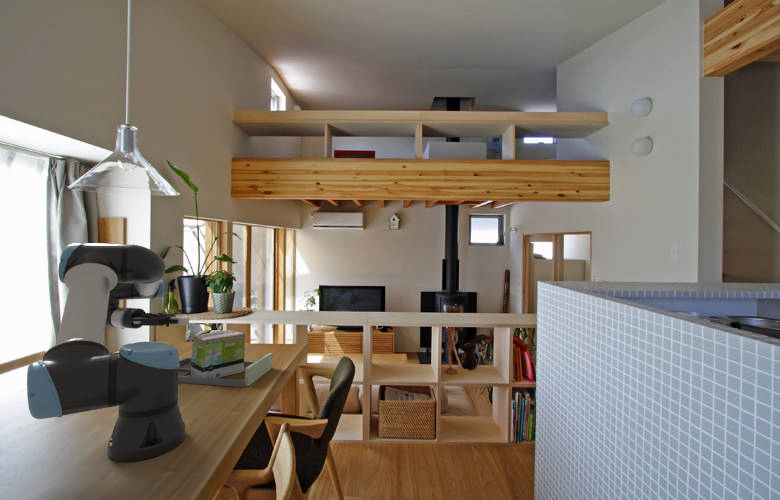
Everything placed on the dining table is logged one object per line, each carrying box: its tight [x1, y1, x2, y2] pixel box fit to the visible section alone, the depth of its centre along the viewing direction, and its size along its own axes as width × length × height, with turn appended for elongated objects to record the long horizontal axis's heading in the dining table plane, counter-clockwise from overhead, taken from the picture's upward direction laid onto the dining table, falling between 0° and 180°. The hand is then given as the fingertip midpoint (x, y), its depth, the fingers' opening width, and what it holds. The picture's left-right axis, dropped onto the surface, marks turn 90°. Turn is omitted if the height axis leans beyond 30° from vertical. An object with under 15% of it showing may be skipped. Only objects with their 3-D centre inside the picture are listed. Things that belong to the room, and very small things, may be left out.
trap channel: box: [178, 356, 257, 388], centre depth 131 cm, size 20×35×2 cm, turn 84°
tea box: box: [190, 329, 246, 378], centre depth 130 cm, size 15×10×15 cm
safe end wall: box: [244, 352, 273, 387], centre depth 129 cm, size 18×1×6 cm, turn 174°
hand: (187, 321), depth 132 cm, fingers closed
